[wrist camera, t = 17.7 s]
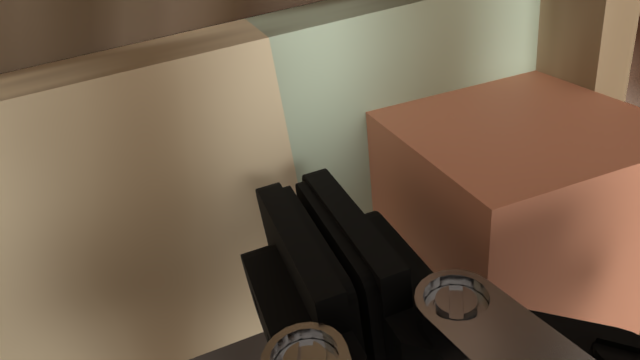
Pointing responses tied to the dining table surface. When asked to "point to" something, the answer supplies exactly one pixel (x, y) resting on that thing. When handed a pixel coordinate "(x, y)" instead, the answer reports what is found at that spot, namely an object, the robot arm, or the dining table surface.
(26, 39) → the dining table surface
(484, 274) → the block
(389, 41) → the board
